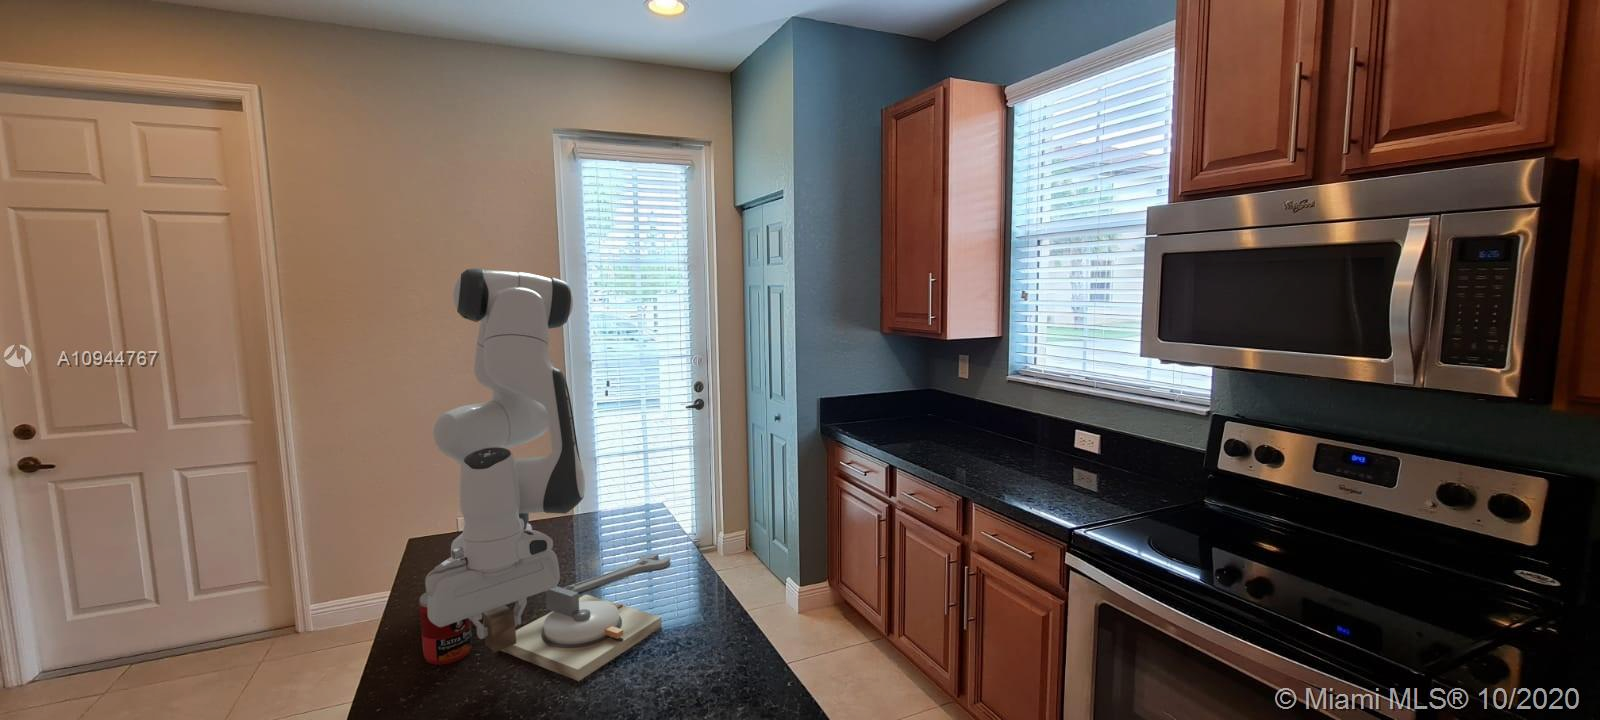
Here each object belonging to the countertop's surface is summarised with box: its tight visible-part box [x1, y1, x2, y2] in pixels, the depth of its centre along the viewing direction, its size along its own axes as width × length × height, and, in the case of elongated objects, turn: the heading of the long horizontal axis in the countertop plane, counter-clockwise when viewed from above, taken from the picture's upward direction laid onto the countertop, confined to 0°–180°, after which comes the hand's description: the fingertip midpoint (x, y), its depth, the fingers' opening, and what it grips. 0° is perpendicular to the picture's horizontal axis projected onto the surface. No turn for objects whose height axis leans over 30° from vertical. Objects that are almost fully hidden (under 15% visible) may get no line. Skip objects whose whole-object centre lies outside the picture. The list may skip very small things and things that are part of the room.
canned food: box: [419, 591, 473, 665], centre depth 118 cm, size 8×8×11 cm
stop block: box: [482, 605, 516, 653], centre depth 110 cm, size 4×4×6 cm
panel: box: [499, 594, 663, 682], centre depth 123 cm, size 20×20×2 cm
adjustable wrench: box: [563, 553, 671, 594], centre depth 150 cm, size 25×6×2 cm, turn 129°
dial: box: [544, 585, 623, 644], centre depth 122 cm, size 18×13×6 cm
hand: (499, 630), depth 110 cm, fingers closed on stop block, 4 cm apart
